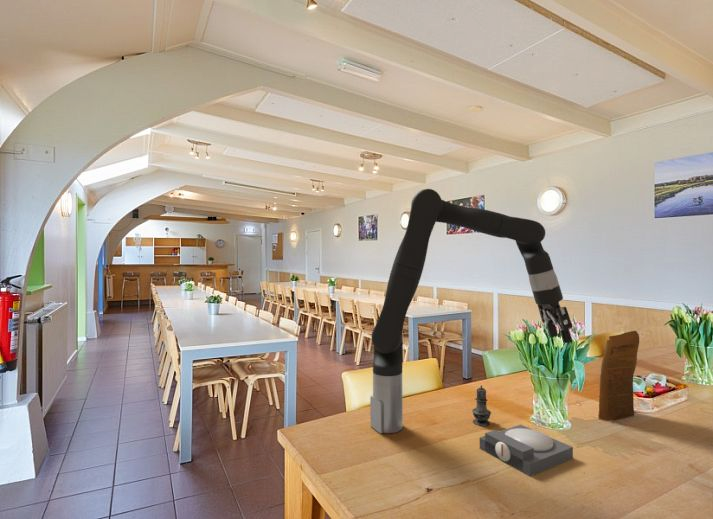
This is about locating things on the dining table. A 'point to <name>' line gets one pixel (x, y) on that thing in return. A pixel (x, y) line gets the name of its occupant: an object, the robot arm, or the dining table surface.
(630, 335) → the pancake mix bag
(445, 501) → the dining table surface
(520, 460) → the kitchen scale
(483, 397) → the salt shaker
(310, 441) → the dining table surface
